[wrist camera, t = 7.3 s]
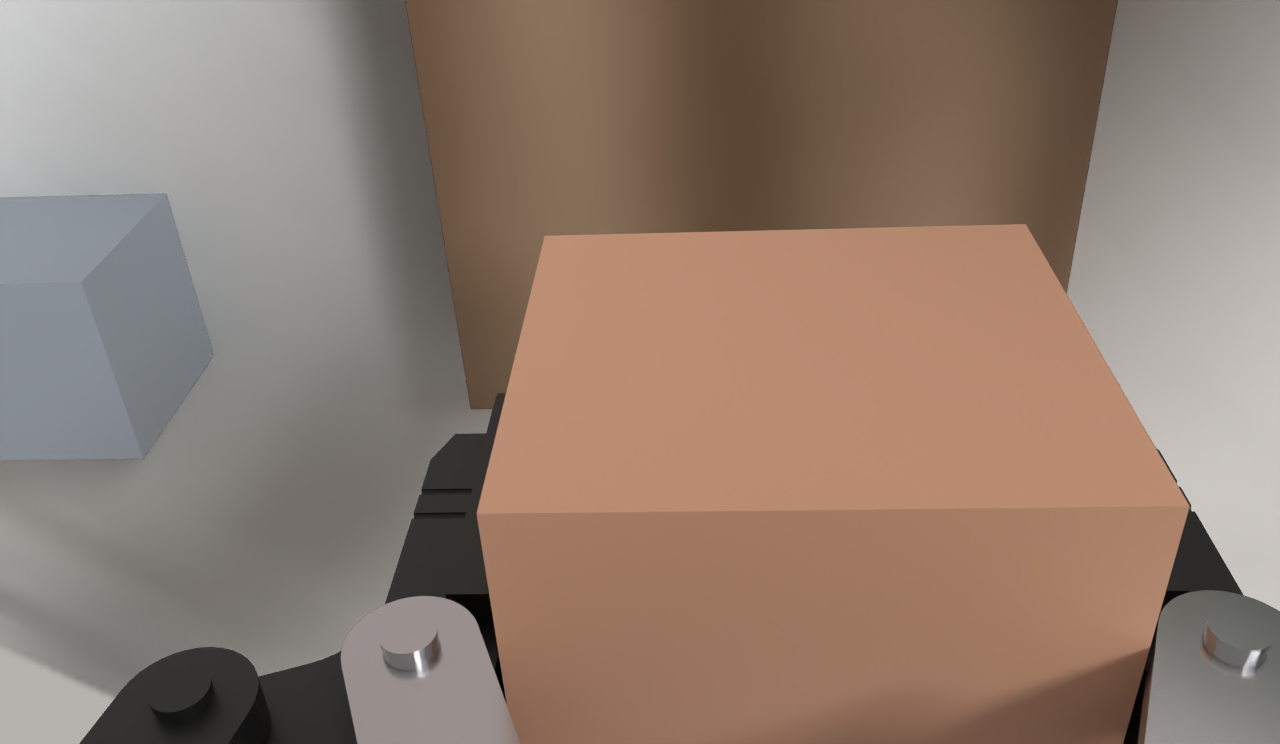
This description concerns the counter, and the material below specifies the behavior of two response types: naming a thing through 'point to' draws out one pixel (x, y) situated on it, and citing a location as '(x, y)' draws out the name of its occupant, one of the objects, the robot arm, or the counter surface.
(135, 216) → the slate block
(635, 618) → the terracotta block
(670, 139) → the walnut plinth
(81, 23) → the counter surface
